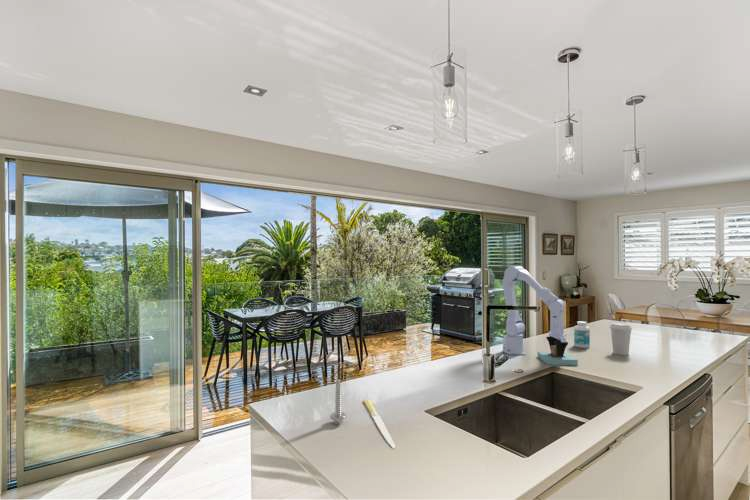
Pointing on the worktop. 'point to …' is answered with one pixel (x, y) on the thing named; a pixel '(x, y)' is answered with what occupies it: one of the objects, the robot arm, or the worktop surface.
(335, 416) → the screw
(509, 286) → the robot arm
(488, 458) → the worktop surface
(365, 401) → the knife
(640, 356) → the worktop surface
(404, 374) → the worktop surface
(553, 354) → the walnut peg
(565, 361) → the socket plate
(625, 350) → the coffee cup
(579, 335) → the pill bottle
